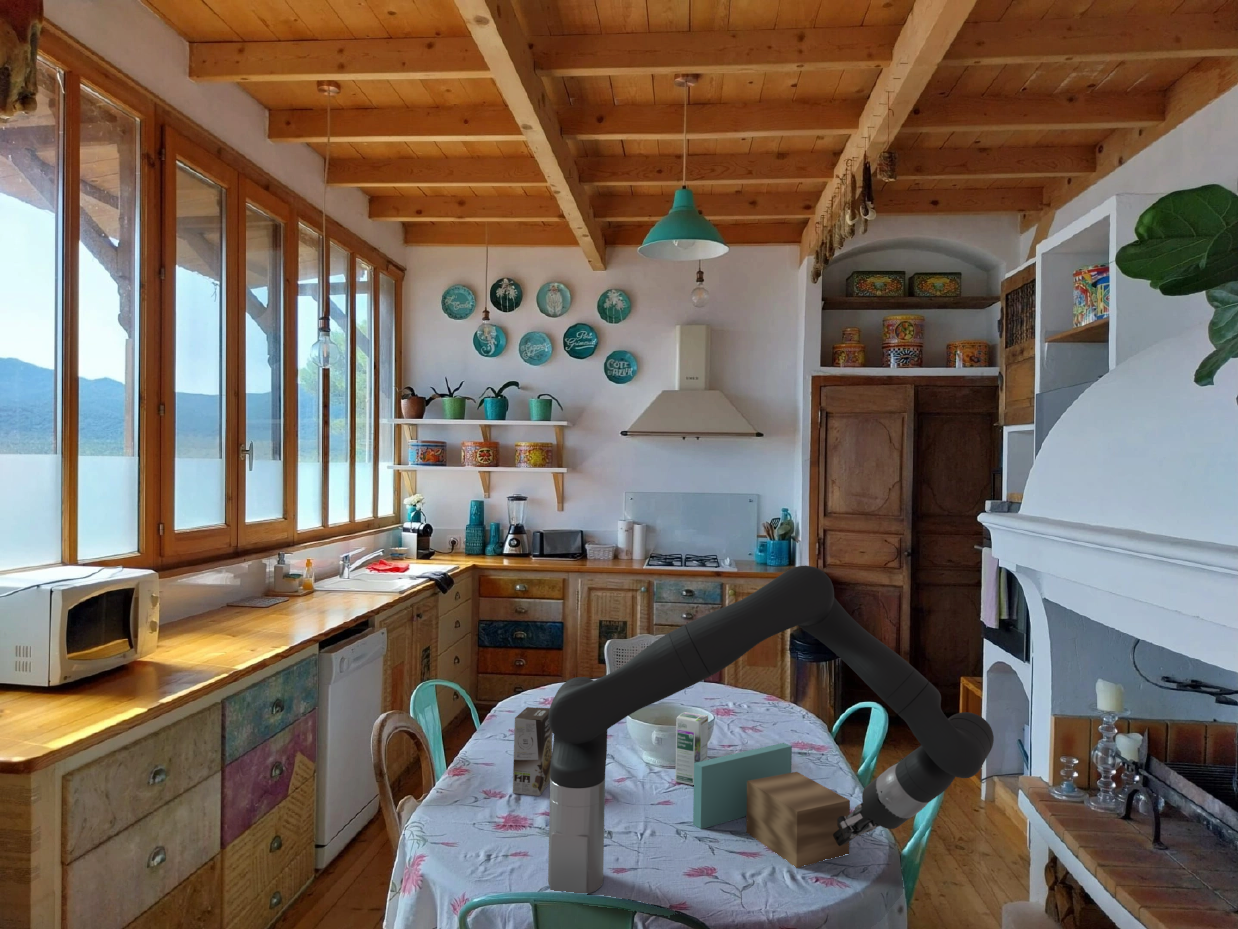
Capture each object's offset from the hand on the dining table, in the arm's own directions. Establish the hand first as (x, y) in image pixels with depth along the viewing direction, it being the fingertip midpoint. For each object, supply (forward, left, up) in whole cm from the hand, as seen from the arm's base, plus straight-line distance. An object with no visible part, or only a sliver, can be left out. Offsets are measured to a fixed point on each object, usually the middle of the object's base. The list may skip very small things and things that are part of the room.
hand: (838, 839), depth 137 cm
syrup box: (+32, +30, -5) cm, 44 cm away
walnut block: (+7, +7, -5) cm, 11 cm away
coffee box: (+19, +63, -5) cm, 66 cm away
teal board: (+18, +17, -5) cm, 25 cm away
